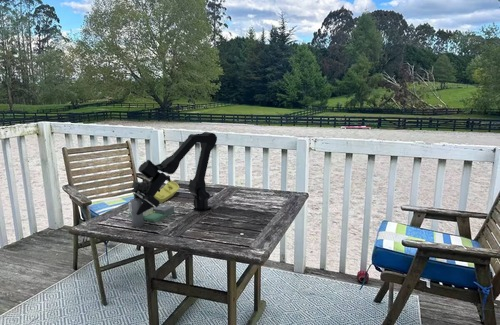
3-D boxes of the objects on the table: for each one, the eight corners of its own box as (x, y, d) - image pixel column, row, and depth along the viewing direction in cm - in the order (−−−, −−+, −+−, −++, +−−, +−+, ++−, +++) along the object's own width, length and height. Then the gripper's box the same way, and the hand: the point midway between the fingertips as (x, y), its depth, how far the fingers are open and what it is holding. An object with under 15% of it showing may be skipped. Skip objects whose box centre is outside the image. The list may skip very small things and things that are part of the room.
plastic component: (161, 200, 195) (147, 190, 197) (158, 210, 198) (143, 201, 200) (182, 187, 212) (168, 178, 214) (179, 197, 215) (165, 188, 218)
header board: (174, 212, 183) (173, 204, 182) (154, 222, 171) (154, 213, 170) (149, 207, 190) (148, 199, 189) (129, 216, 178) (128, 208, 177)
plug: (141, 222, 171) (139, 197, 168) (145, 225, 167) (143, 200, 164) (129, 225, 168) (126, 200, 165) (133, 228, 164) (130, 203, 161)
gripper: (134, 170, 172) (113, 197, 168) (150, 178, 157) (127, 208, 153) (152, 183, 178) (131, 210, 174) (168, 192, 164) (147, 221, 160)
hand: (134, 212), depth 165 cm, fingers open, 7 cm apart
